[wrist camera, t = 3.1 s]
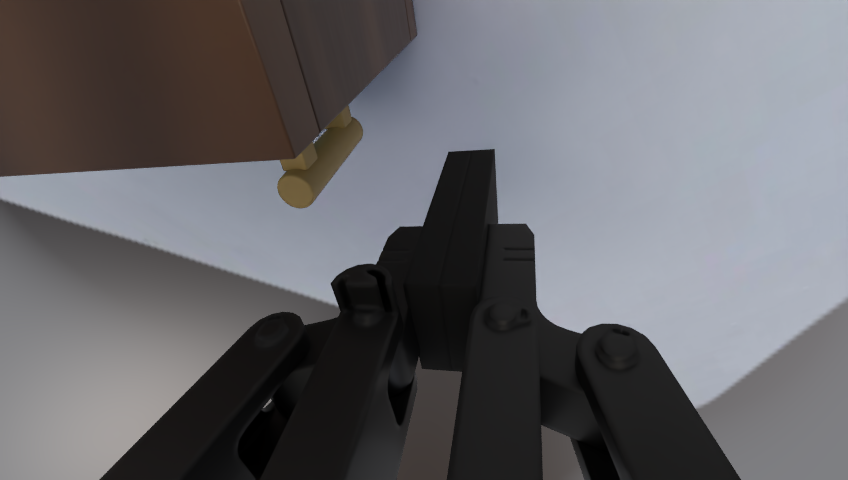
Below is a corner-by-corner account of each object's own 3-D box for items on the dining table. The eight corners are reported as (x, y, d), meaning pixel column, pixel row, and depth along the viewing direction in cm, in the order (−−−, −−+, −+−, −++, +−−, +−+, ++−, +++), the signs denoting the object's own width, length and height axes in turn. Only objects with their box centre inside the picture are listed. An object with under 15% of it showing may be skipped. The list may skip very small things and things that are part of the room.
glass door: (254, 135, 23) (109, 245, 15) (217, 42, 21) (16, 115, 12) (393, 124, 21) (314, 244, 13) (373, 20, 19) (258, 90, 10)
